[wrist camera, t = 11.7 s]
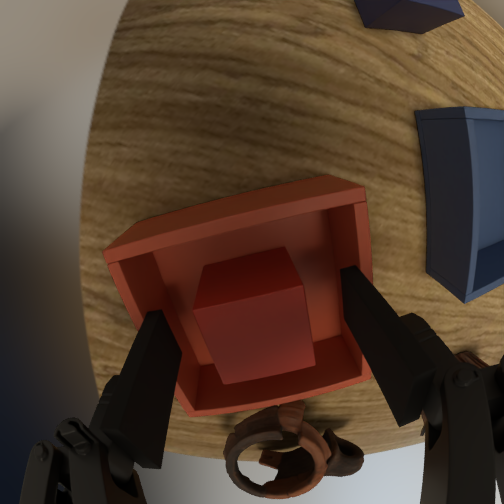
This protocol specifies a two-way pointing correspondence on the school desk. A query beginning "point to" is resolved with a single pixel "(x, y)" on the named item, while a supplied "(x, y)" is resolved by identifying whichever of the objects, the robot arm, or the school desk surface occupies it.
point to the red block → (254, 316)
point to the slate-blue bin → (464, 197)
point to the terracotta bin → (241, 244)
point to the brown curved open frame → (290, 452)
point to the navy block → (408, 14)
